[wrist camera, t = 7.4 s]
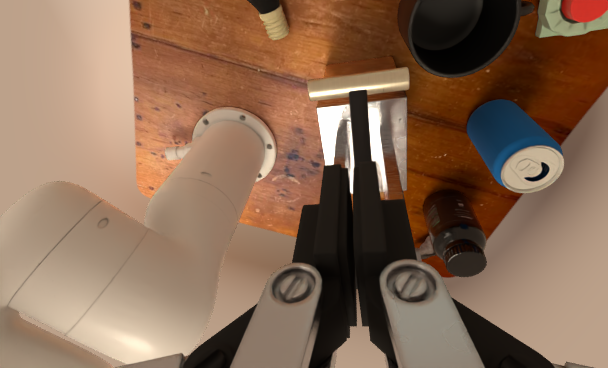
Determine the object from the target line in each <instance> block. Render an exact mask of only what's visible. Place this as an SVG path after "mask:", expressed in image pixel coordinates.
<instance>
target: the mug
mask: <svg viewBox="0 0 608 368" xmlns="http://www.w3.org/2000/svg"><path fill="white" fill-rule="evenodd" d="M534 7H535V6H534V5H533V4H532V3H531V2H527V1H521V0H400V3H399V8H398V26H399V31H400V33H401V36H402V37H403V39H404V41H405V43H406V45H407V46H408V48H409V50H410V52H411V54H412V55H413V57H414V59H415V60H416V62H417V63H418V64H419V65H420V66H421V67H422V68H423V69H425V70H426V71H428V72H430V73H432V74H434V75H437V76H440V77H447V78H455V77H462V76H467V75H470V74H473V73H475V72H477V71H479V70H481V69H483V68H485V67H486V66H488V65H489V64H491V63H492V62H493V61H494V60H495V59H497V58H498V57H499V56H500V55H501V54H502V53H503V51H504V50H505V49H506V47H507V46H508V45H509V43H510V42H511V40H512V38H513V37H514V34H515V32H516V30H517V27H518V24H519V20H520V16H524V15H527V14H529V13H531V12H533V10H534Z"/></svg>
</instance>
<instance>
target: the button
mask: <svg viewBox="0 0 608 368" xmlns="http://www.w3.org/2000/svg"><path fill="white" fill-rule="evenodd" d="M561 9H562V13H563V15H564V16H565V17H566V18H568V19H571V20H574V21H577V22H582V23H585V22H590V21H593V20H595V19H597V18H599V17H600V16H602V15H603V14H604V13H605V12H606V11H607V10H608V0H563V1H562V5H561Z"/></svg>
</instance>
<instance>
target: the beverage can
mask: <svg viewBox="0 0 608 368" xmlns="http://www.w3.org/2000/svg"><path fill="white" fill-rule="evenodd" d="M467 133H468V136H469V138H470V139H471V141H472V142H473V144H474V146H475V147H476V149H477V151H478V152H479V154H480V155H481V157H482V159H483V160H484V162H485V163H486V165H487V167H488V168H489V170H490V172H491V173H492V175H493V176H494V178H495V180H496V181H497V182H498V183H499V184H501V185H502V186H504V187H506V188H508V189H510V190H512V191H514V192H518V193H530V192H536V191H539V190H542V189H544V188H546V187H547V186H549V185H551V184H552V183H553V182H555V181H556V180H557V178H558V177H559V176H560V175H561V173H562V171H563V168H564V160H563V153H562V150H561V147H560V146H559V144H558V143H557V142H556V141H555V140H554V139H553V138H552V137H550V136H549V135H548V134H547V133H546V132H545V131H544V130H543V129H542V128H541V127H540V126H539V125H538V124H537V123H536V122H535V121H534V120H533V119H531V118H530V117H529V116H528V115H527V114H526V113H525V112H524V111H523V110H522V109H521V108H520V107H519V106H518V105H517V104H515V103H514V102H512V101H509V100H504V99H499V100H493V101H489V102H487V103H485V104H483V105H481V106H480V107H479V108H477V109H476V110H475V111H474V112H473V114H472V115H471V116H470V118H469V120H468V123H467Z"/></svg>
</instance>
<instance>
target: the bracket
mask: <svg viewBox="0 0 608 368" xmlns="http://www.w3.org/2000/svg"><path fill="white" fill-rule="evenodd" d="M394 68H396V66H395V63H394V61H393V58H392V56H387V57H380V58H373V59H365V60H358V61H351V62H344V63H337V64H330V65H326V69H325V73H324V78H326V77H334V76H341V75H349V74H357V73H364V72H372V71H379V70H387V69H394ZM367 97H368V111H369V125H370V139H371V153H372V161H376V165H377V174H378V182H379V190H380V192H384V198H385V200H395V199H404V195H403V190H407V97H406V94H405V91H404V90H402V91H394V92H386V93H377V94H369V95H367ZM316 109H317V116H318V122H319V129H320V135H321V141H322V148H323V154H324V161H325V165H334V164H341V166H342V168H348V173H349V182H350V191H351V194H353V167H354V159H353V145H352V132H351V118H350V104H349V97H344V98H335V99H327V100H318V104H317V108H316ZM404 201H405V200H404ZM415 251H416V256H417V260H418V261H421V255H420V251H419V248H415Z"/></svg>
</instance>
